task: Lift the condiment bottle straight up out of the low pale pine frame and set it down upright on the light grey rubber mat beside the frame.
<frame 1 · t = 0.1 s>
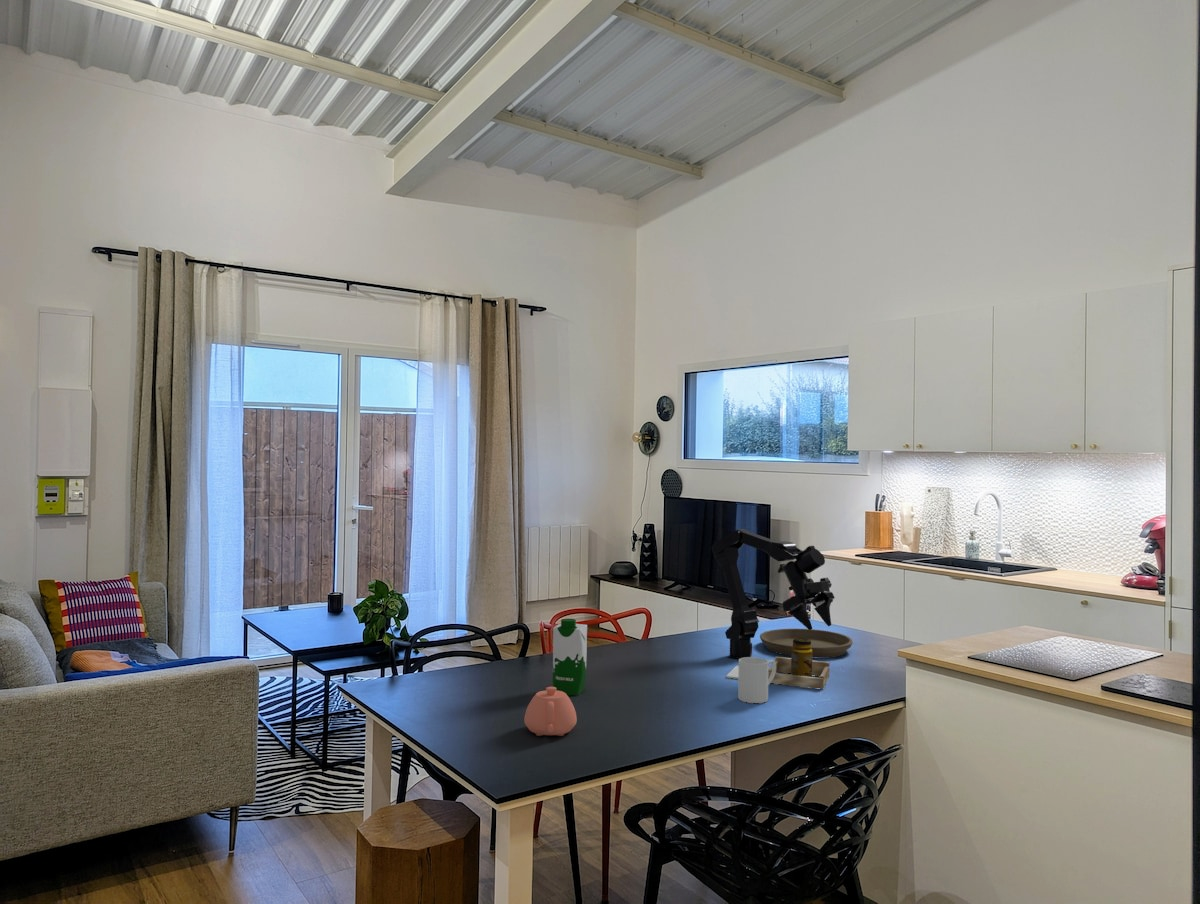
hand: (820, 627, 244), 15 cm above the table, tool tilted 30°, fingers open, 9 cm apart
condiment: (798, 681, 240), resting in pine frame
mug: (758, 699, 220), on the table
sugar bowl: (550, 733, 190), on the table
plant saucer: (805, 650, 281), on the table
grey mat: (747, 674, 246), on the table
pine frame: (798, 680, 240), on the table
milk carton: (569, 692, 224), on the table
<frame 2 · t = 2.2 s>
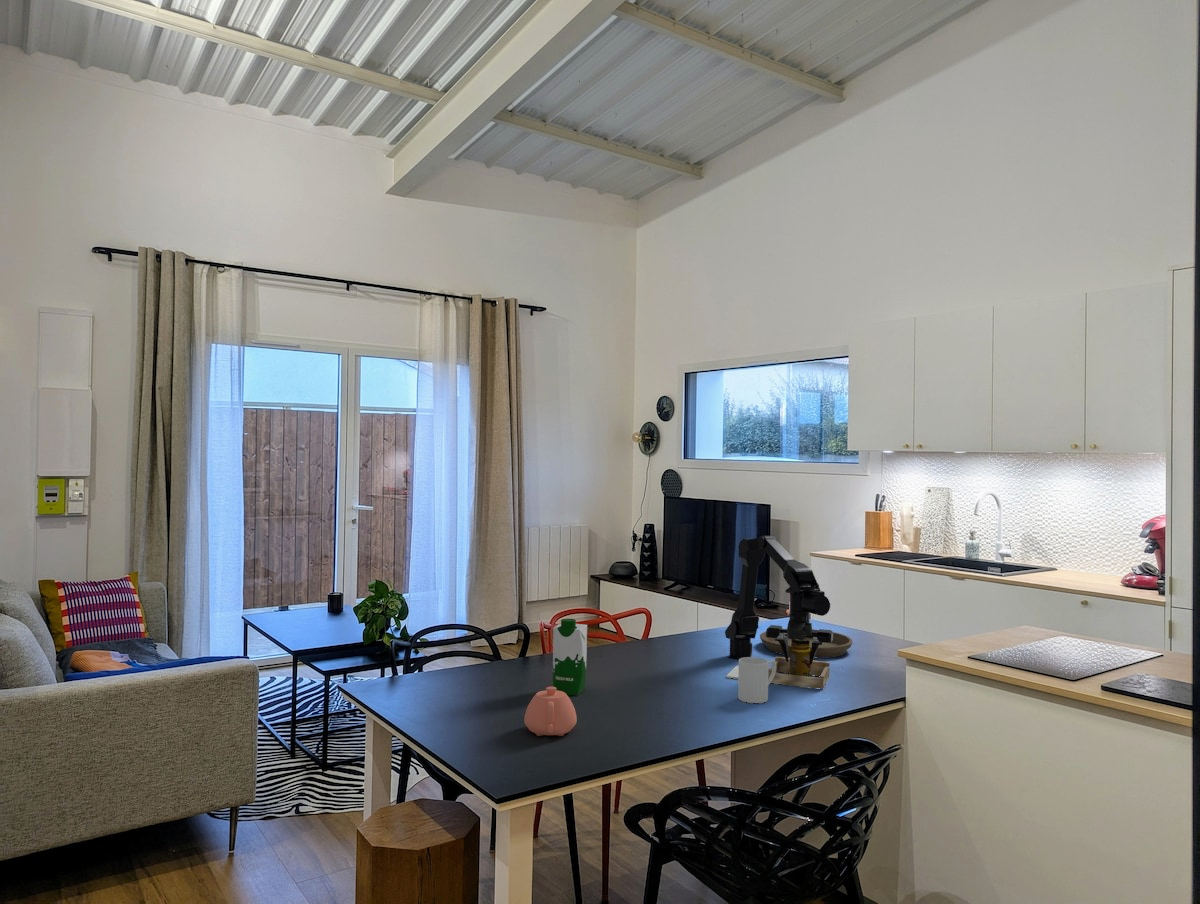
hand: (799, 663, 240), 5 cm above the table, tool pointing down, fingers open, 6 cm apart
condiment: (796, 680, 240), resting in pine frame, touching gripper
everything else where it was.
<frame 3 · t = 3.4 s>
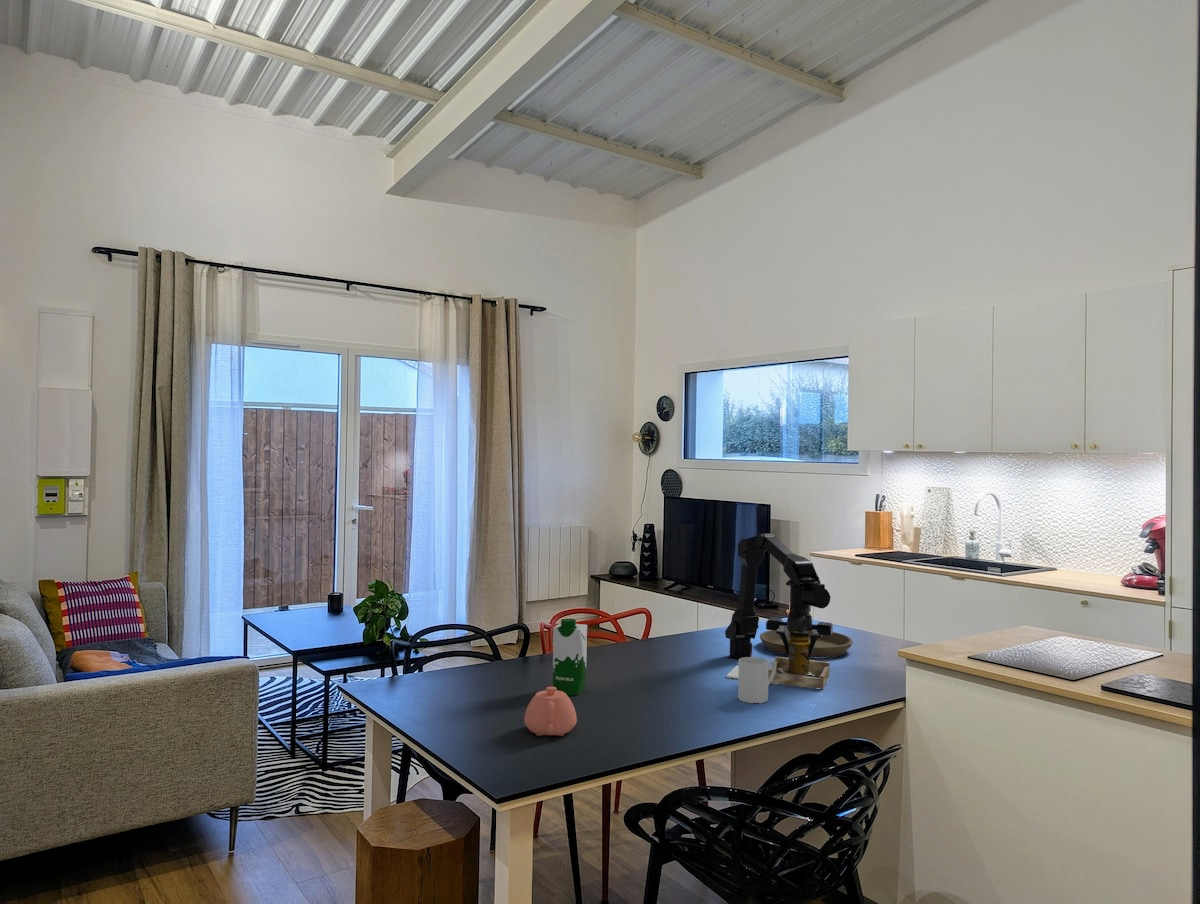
hand: (798, 655, 240), 7 cm above the table, tool pointing down, fingers closed on condiment, 6 cm apart
condiment: (795, 673, 240), point 2 cm above the table, touching gripper
everything else where it was.
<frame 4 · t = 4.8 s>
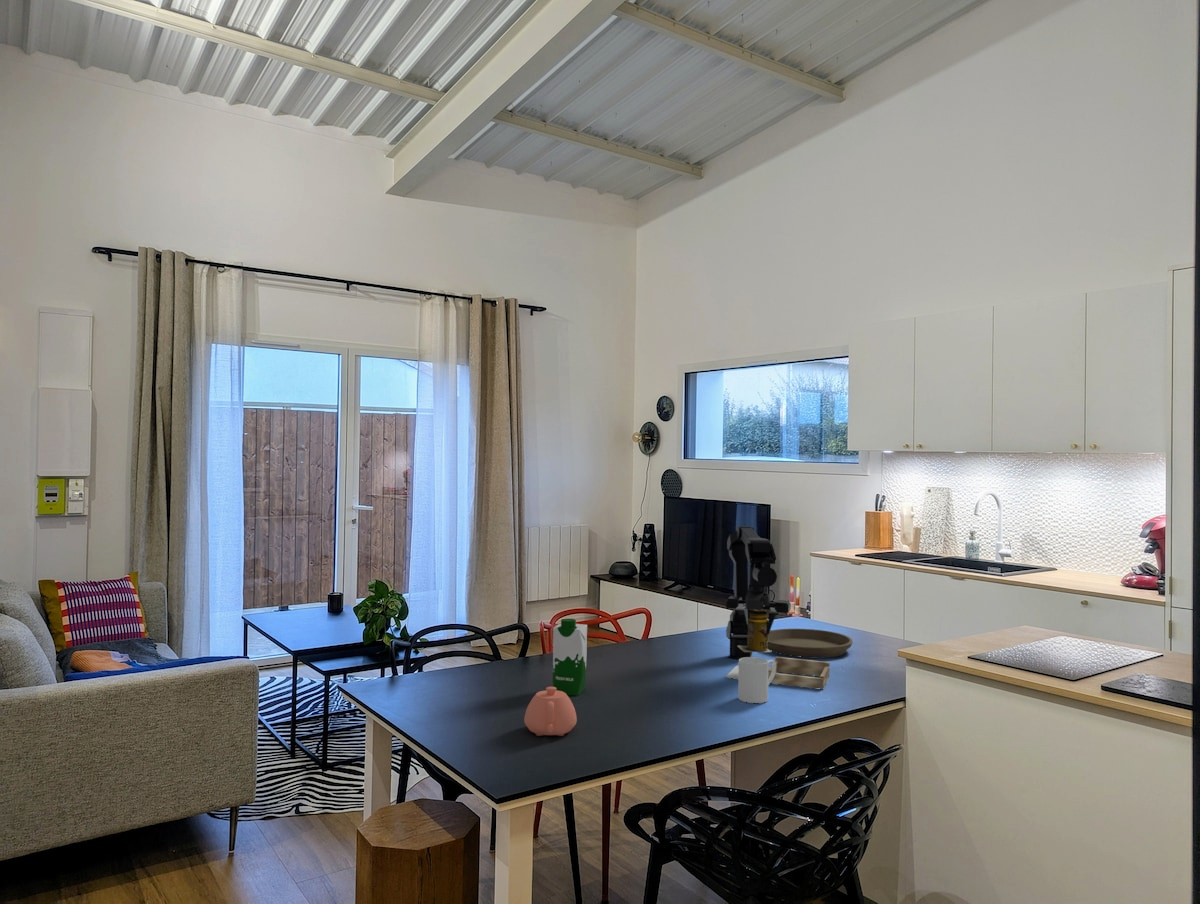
hand: (757, 633, 245), 13 cm above the table, tool pointing down, fingers closed on condiment, 6 cm apart
condiment: (754, 650, 245), point 7 cm above the table, touching gripper
everything else where it was.
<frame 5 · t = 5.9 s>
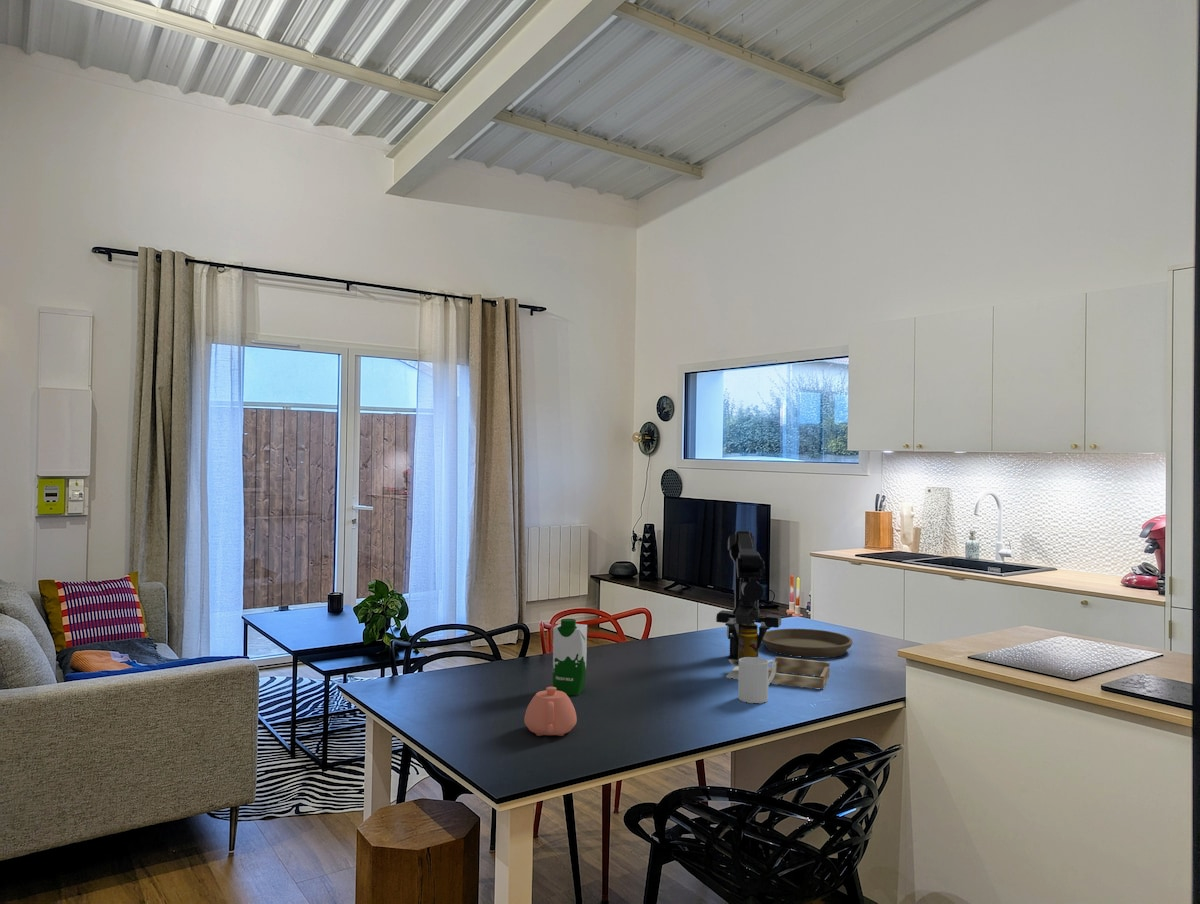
hand: (748, 647, 246), 8 cm above the table, tool pointing down, fingers closed on condiment, 6 cm apart
condiment: (745, 664, 246), point 3 cm above the table, touching gripper
everything else where it was.
when the fingers open (7 cm above the table, at t = 7.0 s): condiment drops 1 cm, resting on grey mat.
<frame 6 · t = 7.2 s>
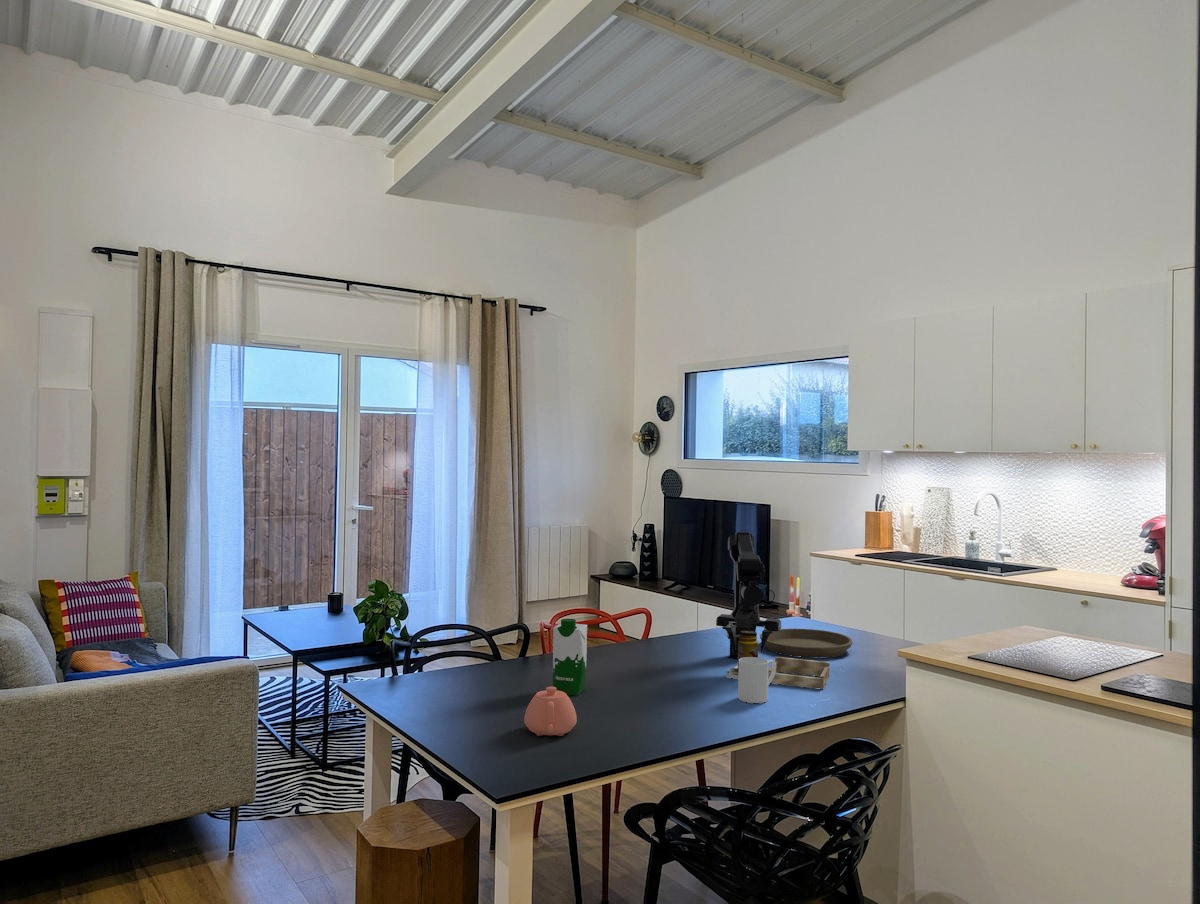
hand: (748, 651, 246), 7 cm above the table, tool pointing down, fingers open, 8 cm apart
condiment: (744, 672, 246), resting on grey mat
everything else where it was.
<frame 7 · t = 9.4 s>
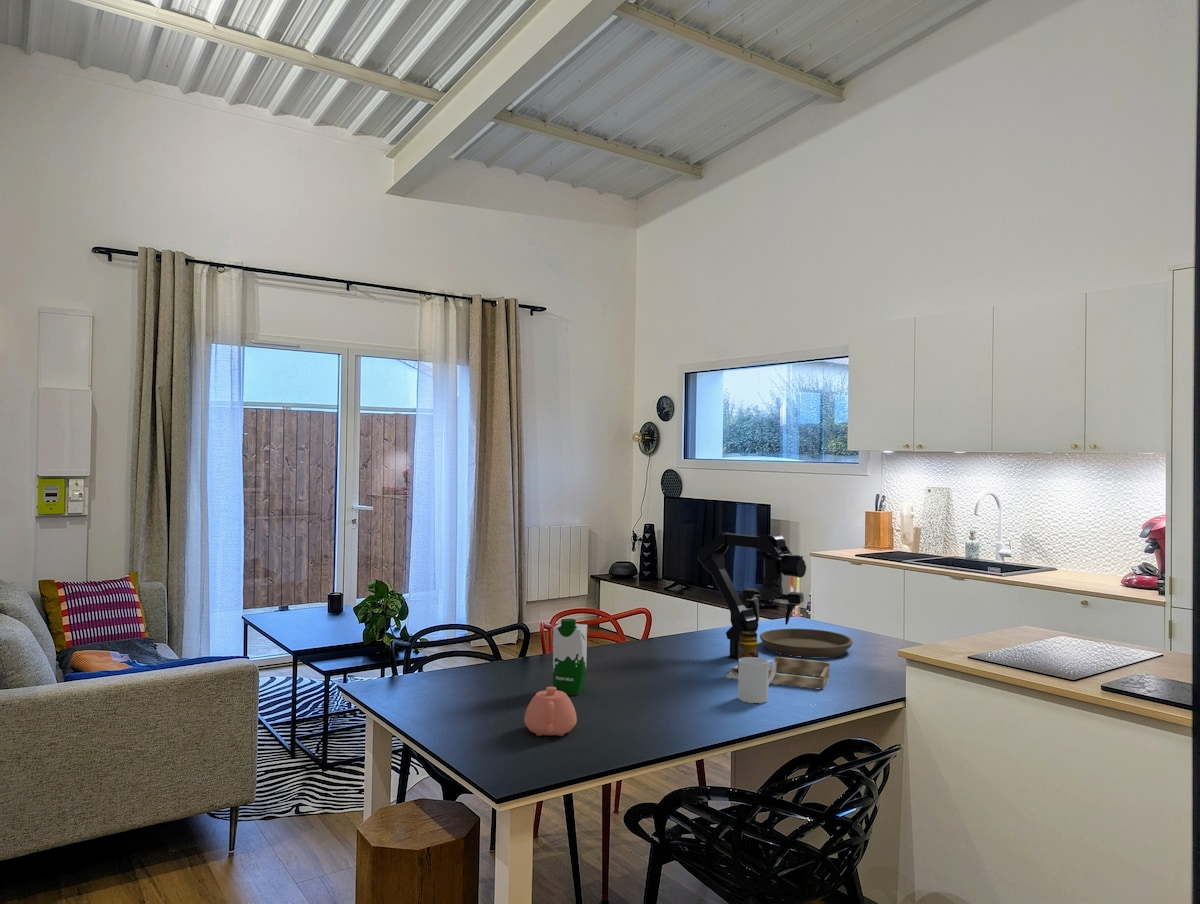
hand: (771, 622, 260), 13 cm above the table, tool pointing down, fingers open, 9 cm apart
nothing on the table moved.
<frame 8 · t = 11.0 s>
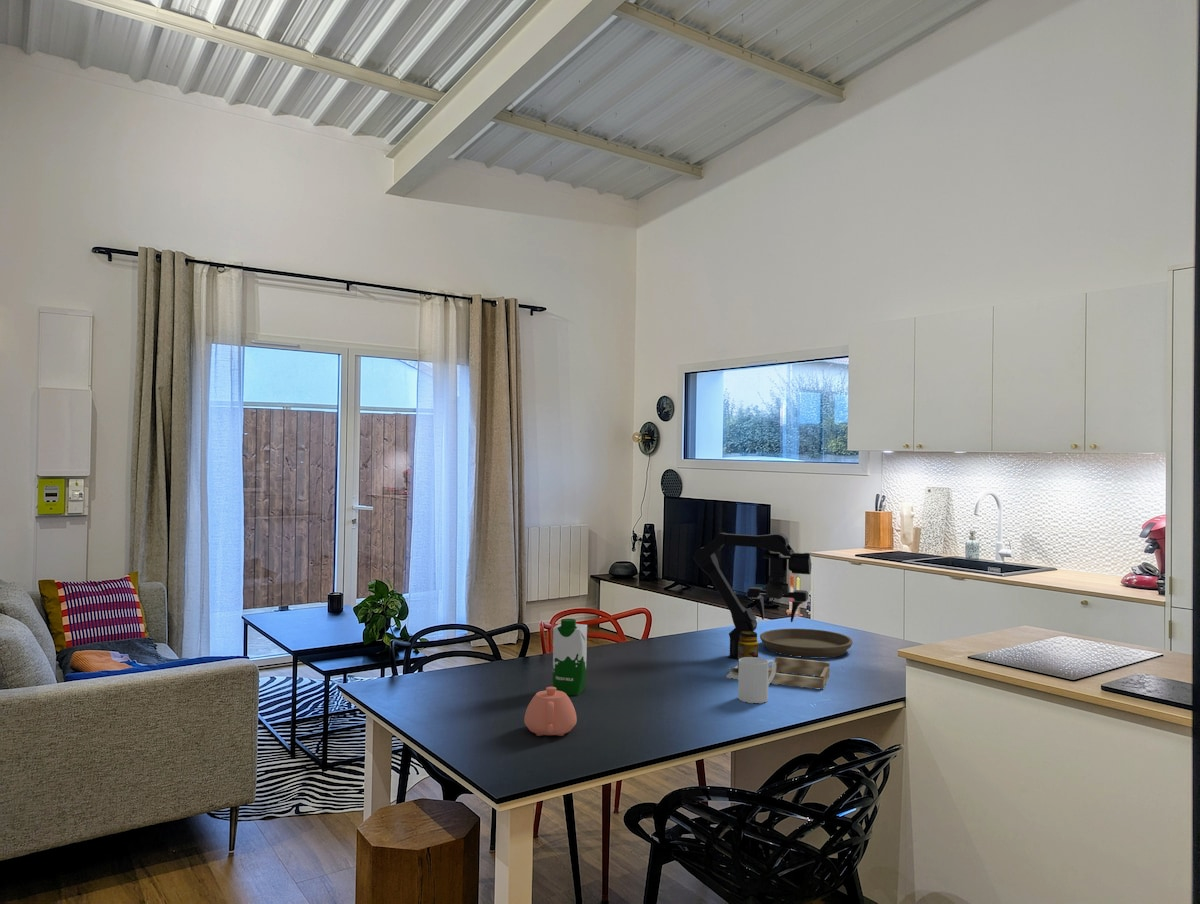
hand: (777, 620, 263), 13 cm above the table, tool pointing down, fingers open, 9 cm apart
nothing on the table moved.
at the end: condiment inside the target area (0.9 cm from its centre), resting on grey mat; condiment tilted 0°; the gripper is holding nothing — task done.
